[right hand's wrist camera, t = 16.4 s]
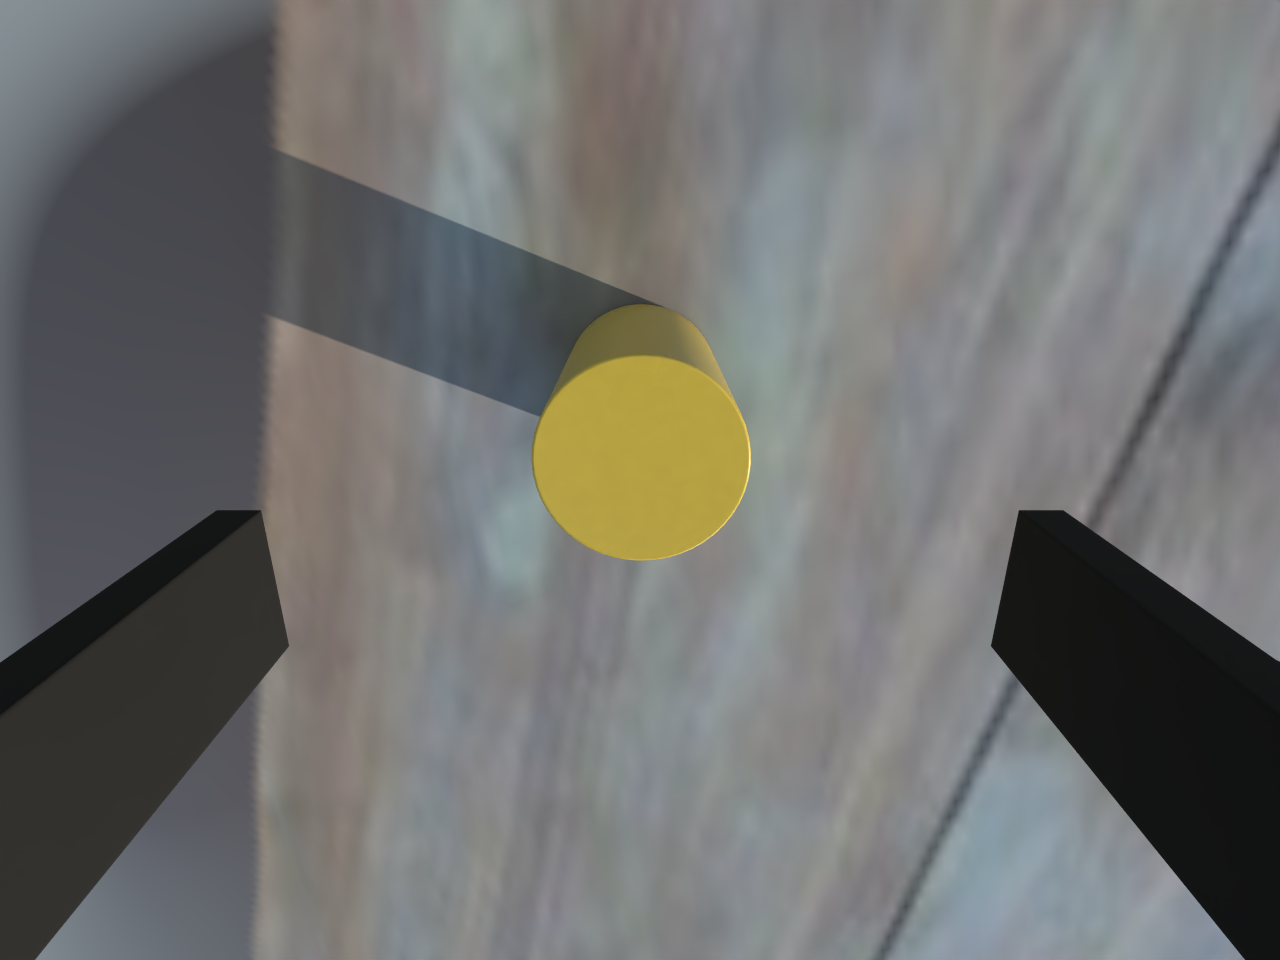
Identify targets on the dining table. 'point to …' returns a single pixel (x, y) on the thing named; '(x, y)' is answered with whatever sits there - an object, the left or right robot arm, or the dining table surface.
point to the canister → (641, 438)
